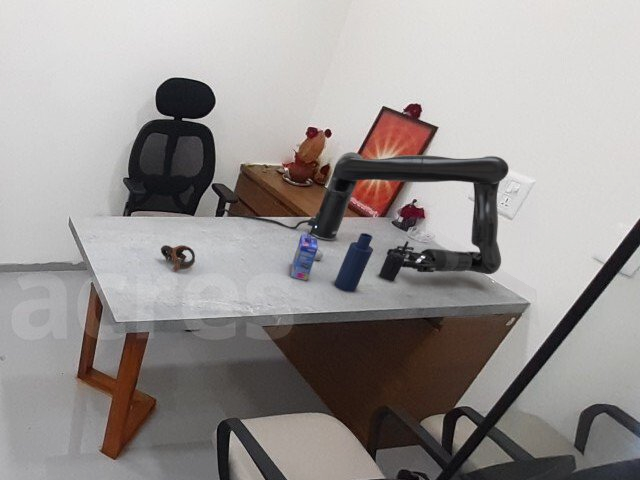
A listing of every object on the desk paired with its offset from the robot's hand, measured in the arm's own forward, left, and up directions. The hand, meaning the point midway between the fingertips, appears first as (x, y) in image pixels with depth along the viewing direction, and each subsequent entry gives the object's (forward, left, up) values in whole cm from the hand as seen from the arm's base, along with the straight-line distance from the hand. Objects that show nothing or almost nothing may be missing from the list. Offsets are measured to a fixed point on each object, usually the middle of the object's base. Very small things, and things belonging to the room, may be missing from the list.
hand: (395, 257), depth 176 cm
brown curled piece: (-59, -46, -9) cm, 75 cm away
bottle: (-10, -17, -9) cm, 21 cm away
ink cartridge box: (-25, -19, -9) cm, 32 cm away
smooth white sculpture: (-25, -2, -9) cm, 26 cm away
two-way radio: (0, 0, -9) cm, 9 cm away
